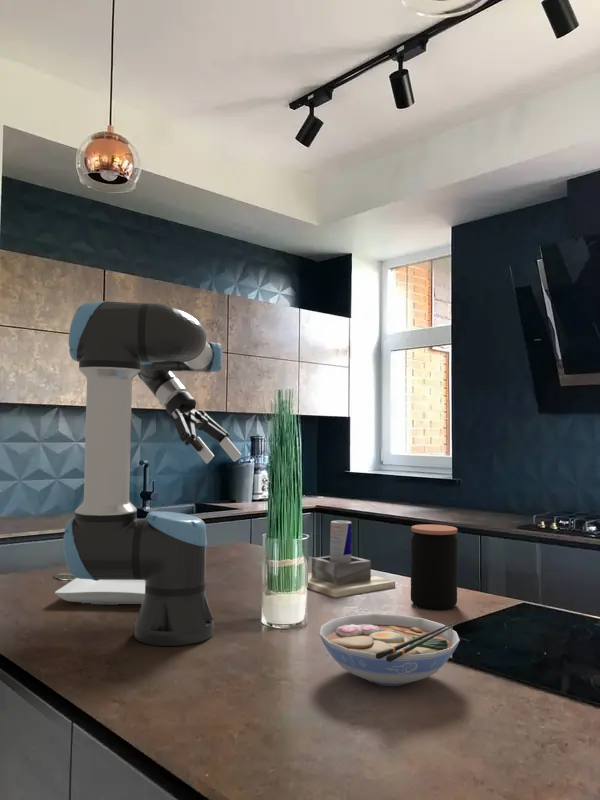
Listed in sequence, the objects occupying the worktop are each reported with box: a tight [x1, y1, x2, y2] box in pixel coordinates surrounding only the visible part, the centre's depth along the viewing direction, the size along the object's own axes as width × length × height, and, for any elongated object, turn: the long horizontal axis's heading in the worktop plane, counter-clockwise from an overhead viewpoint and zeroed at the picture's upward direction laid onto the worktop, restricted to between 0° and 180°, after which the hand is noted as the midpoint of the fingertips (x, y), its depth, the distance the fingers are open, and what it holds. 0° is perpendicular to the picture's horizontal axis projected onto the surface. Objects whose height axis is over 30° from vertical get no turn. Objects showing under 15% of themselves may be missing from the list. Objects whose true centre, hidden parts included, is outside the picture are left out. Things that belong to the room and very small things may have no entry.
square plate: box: [54, 577, 145, 605], centre depth 162 cm, size 27×27×4 cm
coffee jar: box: [410, 523, 458, 612], centre depth 156 cm, size 11×11×18 cm
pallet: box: [307, 555, 396, 598], centre depth 175 cm, size 20×20×6 cm
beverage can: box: [329, 519, 353, 563], centre depth 175 cm, size 6×6×15 cm
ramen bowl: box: [318, 613, 461, 687], centre depth 109 cm, size 25×23×8 cm
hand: (224, 458), depth 169 cm, fingers open, 13 cm apart
